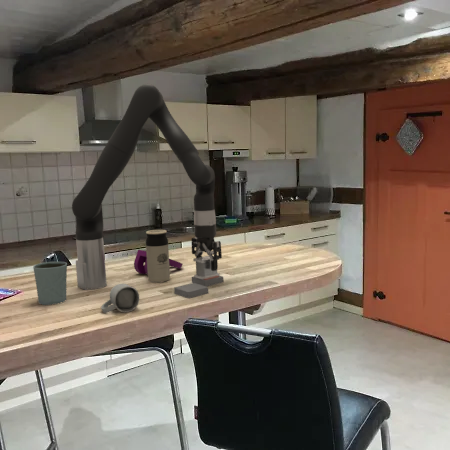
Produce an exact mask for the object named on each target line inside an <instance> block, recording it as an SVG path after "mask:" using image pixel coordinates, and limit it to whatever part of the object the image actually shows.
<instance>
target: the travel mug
mask: <svg viewBox="0 0 450 450" xmlns="http://www.w3.org/2000/svg"><path fill="white" fill-rule="evenodd" d="M167 232H168V230H166V229H152V230H150V229H149V230H147V231H146V232H145V233H146V240H145V251H146V254H147V270H148V275H147V280H148V281H149V282H151V283H164V282H167V281H169V280H170V279H171V270H170V268H171V267H170V266H169V259H170V254H169V239H168V237H167Z"/></svg>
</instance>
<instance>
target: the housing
mask: <svg viewBox="0 0 450 450" xmlns="http://www.w3.org/2000/svg"><path fill="white" fill-rule="evenodd" d="M213 257H214V255H213ZM192 260H193V262H195V271H196V272H195V273H196V274H193V277H196V278H199V279H202V280H203V279H207V278H211V277H216V276H221V275H220V273H219V272H218V269H217V270H216V271H212V270H211V258H210V256H209V255H205V256H202V257H199V258H196V257H195V258H193V259H192ZM218 260H220V259H218ZM218 260H217V261H218Z"/></svg>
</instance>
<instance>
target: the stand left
mask: <svg viewBox="0 0 450 450" xmlns="http://www.w3.org/2000/svg"><path fill="white" fill-rule="evenodd" d="M173 291H174V293H173V294H175V295H178V296H181V297H183V298H187V299H191V298H195V297H199V296H203V295H207V294H209V293H210V291H209V286H203V285H199V284H196V283H192V282H191V283H187V284H182V285H179V286H175V287H174V288H173Z"/></svg>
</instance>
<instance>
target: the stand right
mask: <svg viewBox="0 0 450 450" xmlns="http://www.w3.org/2000/svg"><path fill="white" fill-rule="evenodd" d="M222 282H223V283H224V276H223V275H220V276H216V277H211V278H207V279H203V280H202V279H199V278H196V277H194V276H191V283H196V284H199V285H203V286H206V287H209V286H210V287H211V286H215V285H217V284H222Z"/></svg>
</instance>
